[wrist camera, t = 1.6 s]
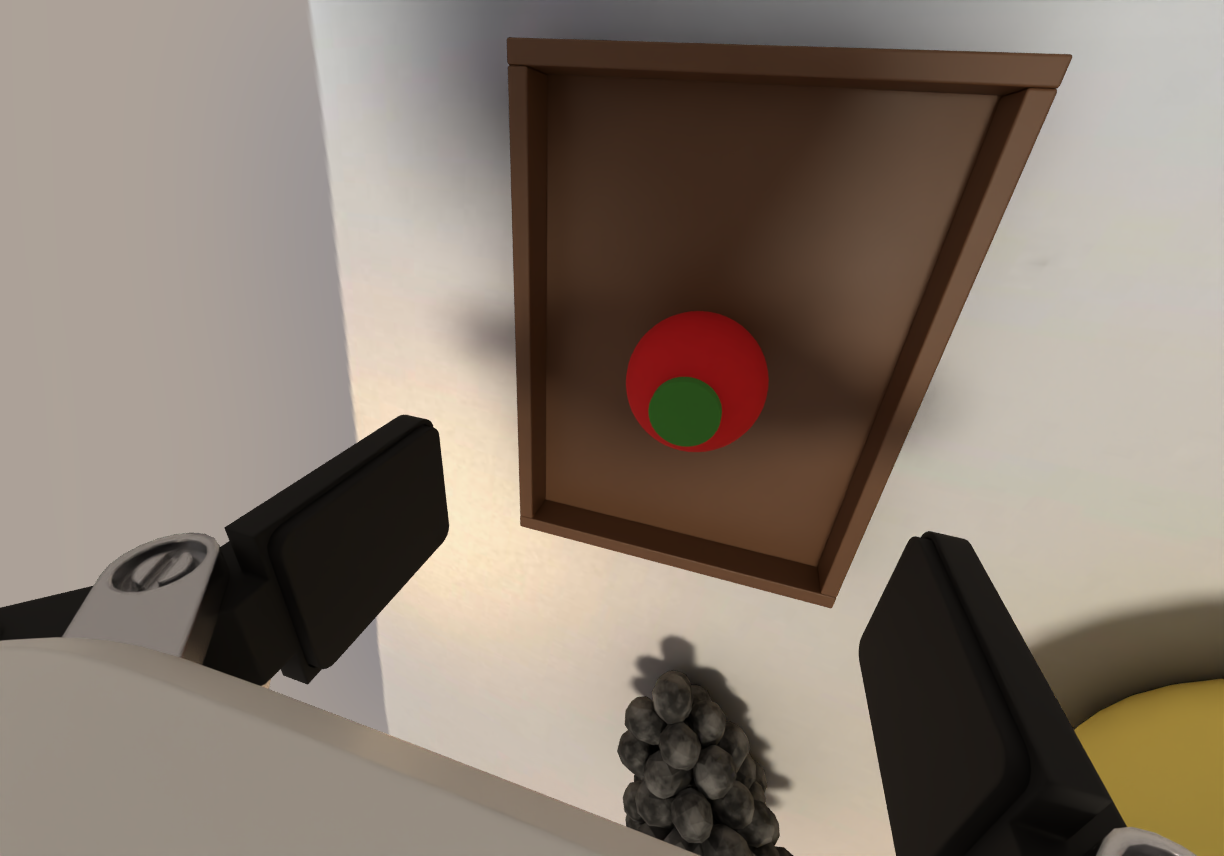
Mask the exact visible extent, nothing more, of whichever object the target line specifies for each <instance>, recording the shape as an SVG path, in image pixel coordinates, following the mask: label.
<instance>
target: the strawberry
mask: <svg viewBox="0 0 1224 856" xmlns="http://www.w3.org/2000/svg"><path fill="white" fill-rule="evenodd" d="M768 382H769V377H768V369H767V364H766V360H765V357H764V354H763V352H762V350H761V348H760V346H759V345H758V343H757V341H756V340H755V339H754V338H753V336H752V335H751V334H750V333H749V332H748V331H747V330H746V329H745V328H744V327H743V326H741V325H740V324H739V323H737V322H736V321H734V320H732V319H730V318H728V317H726V316H723V315H720V314H717V313H713V312H706V311H690V312H684V313H680V314H677V315H674V316H671V317H669V318H667V319H664V320H662V321H661V322H659V323H658V324H656V325H655V326H654V327H653V328H651V329H650V330H649V331H648V332H647V333H646V334H645V335H644V336H643V337H642V338H641V340H640V341H639V343H638V344H637V346H636V347H635V349H634V351H633V353H632V355H631V358H630V361H629V364H628V369H627V375H626V391H627V397H628V401H629V405H630V407H631V410H632V412H633V414H634V416H635V418H636V419H637V421H638V422H639V424H640V425H641V427H642V428H643V429H644V430H645V431H646V432H647V433H648V434H649V435H650V436H652V437H653V438H654V439H656V440H657V441H658V442H660V443H662V444H664V445H666V446H668V447H671V448H673V449H677V450H681V451H686V452H706V451H711V450H715V449H718V448H721V447H724V446H726V445H728V444H731V443H732V442H734V441H735V440H737V439H738V438H740V437H741V436H742V435H743V434H745V433H746V432H747V431H748V430H749V429H750V428H751V427H752V425H753V424H754V423H755V421H756V420H757V418H758V417H759V415H760V413H761V411H762V409H763V407H764V404H765V401H766V397H767V392H768Z"/></svg>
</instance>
